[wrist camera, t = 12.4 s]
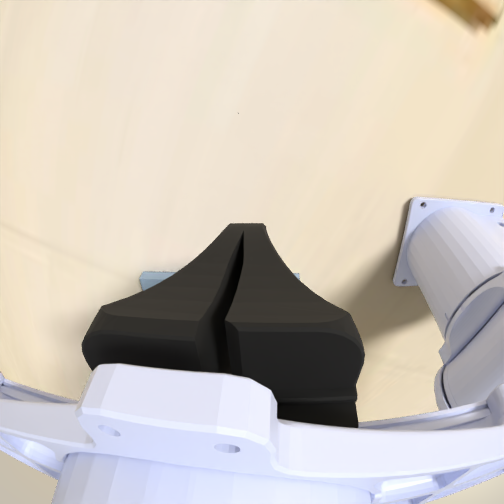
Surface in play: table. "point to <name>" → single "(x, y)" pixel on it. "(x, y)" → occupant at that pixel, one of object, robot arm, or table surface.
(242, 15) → the table surface
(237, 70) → the table surface
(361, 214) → the table surface
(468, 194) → the table surface
